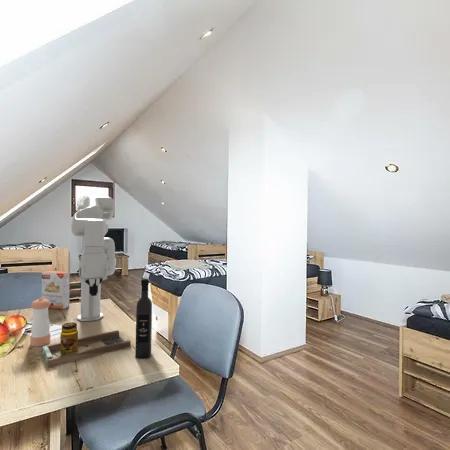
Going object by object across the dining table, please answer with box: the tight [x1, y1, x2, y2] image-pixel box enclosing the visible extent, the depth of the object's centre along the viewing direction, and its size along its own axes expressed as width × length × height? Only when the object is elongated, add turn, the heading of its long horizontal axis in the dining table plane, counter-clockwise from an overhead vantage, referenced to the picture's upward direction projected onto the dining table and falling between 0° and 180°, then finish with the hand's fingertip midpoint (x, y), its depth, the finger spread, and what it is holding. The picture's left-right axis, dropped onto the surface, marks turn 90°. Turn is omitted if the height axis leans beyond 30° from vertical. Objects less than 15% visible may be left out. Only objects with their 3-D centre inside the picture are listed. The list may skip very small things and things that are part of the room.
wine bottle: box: [134, 278, 153, 359], centre depth 121 cm, size 6×6×30 cm
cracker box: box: [41, 270, 71, 310], centre depth 180 cm, size 14×6×21 cm, turn 81°
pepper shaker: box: [29, 297, 51, 347], centre depth 130 cm, size 7×7×19 cm
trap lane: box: [41, 329, 132, 368], centre depth 125 cm, size 15×30×3 cm, turn 129°
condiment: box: [54, 322, 80, 357], centre depth 121 cm, size 7×8×12 cm
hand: (93, 295), depth 126 cm, fingers closed
